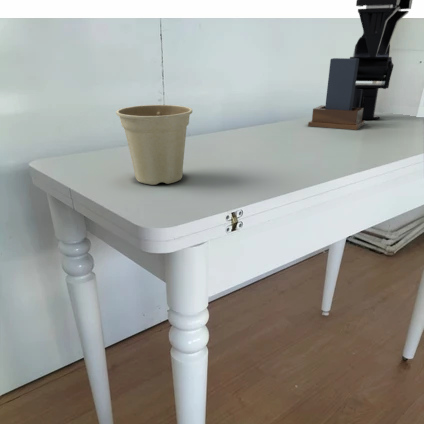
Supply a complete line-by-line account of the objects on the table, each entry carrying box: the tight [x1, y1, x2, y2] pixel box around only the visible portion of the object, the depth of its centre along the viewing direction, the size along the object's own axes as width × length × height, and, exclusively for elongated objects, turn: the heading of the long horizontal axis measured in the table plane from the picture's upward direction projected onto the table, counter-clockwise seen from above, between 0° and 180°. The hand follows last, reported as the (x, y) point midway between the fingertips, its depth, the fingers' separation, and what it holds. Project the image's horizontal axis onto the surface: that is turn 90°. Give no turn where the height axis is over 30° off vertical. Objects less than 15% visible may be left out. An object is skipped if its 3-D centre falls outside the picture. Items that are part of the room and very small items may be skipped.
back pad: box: [324, 57, 359, 110], centre depth 91 cm, size 2×5×12 cm, turn 62°
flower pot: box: [115, 104, 193, 186], centre depth 58 cm, size 9×9×9 cm
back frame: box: [307, 105, 366, 131], centre depth 93 cm, size 7×10×3 cm
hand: (377, 55), depth 81 cm, fingers open, 9 cm apart
